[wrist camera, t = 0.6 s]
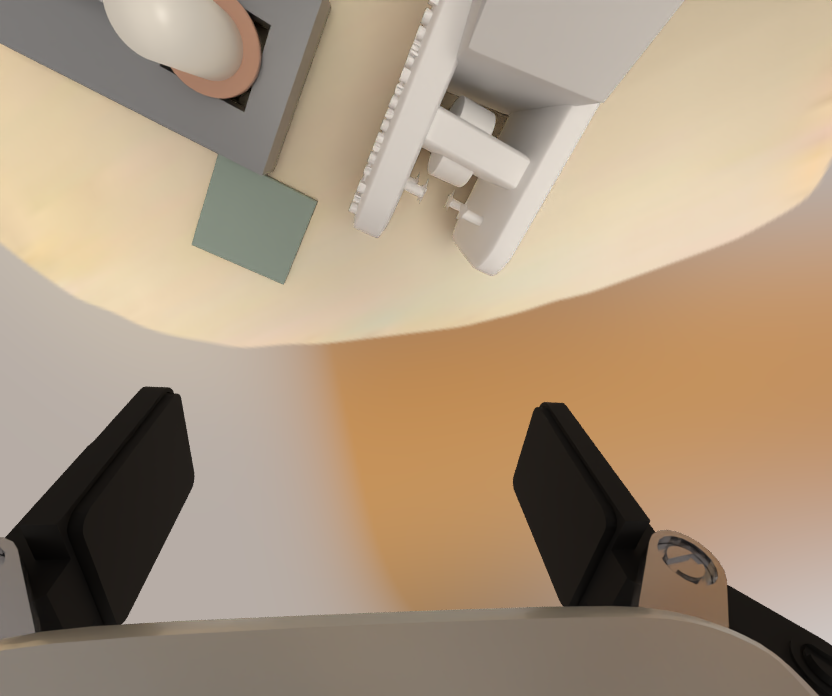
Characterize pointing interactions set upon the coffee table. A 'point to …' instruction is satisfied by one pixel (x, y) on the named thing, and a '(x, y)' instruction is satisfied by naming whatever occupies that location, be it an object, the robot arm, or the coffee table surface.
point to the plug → (193, 41)
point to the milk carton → (552, 50)
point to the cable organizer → (464, 149)
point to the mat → (252, 220)
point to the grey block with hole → (161, 88)
